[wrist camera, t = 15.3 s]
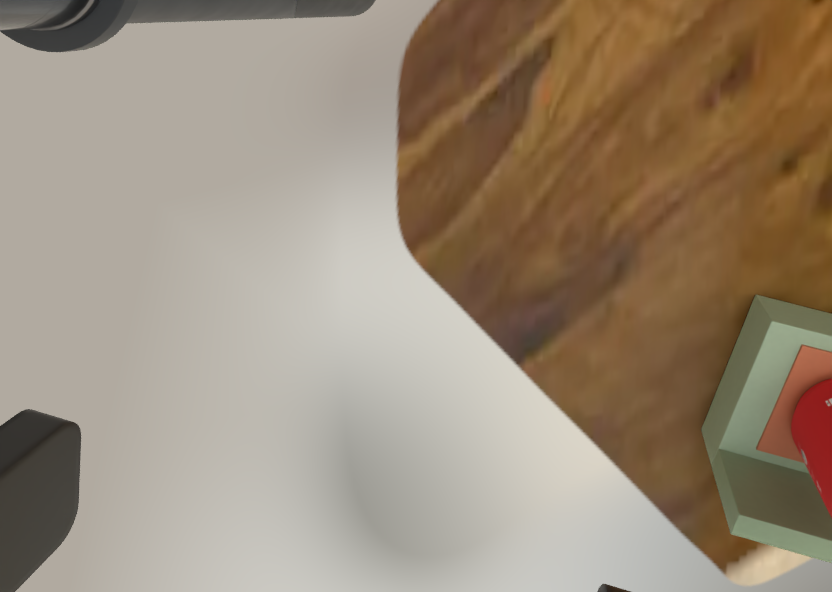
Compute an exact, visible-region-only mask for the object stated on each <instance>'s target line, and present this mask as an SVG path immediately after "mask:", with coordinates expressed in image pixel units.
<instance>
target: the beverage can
mask: <svg viewBox="0 0 832 592" xmlns="http://www.w3.org/2000/svg"><path fill="white" fill-rule="evenodd" d="M791 432H792V437H793V440H794V443H795V445H796V447H797V449H798V451H799V453H800V455H801V457H802V459H803V461H804V463H805V465H806V467H807V469H808V471H809V473H810V475H811V477H812V479H813V482H814V484H815V486H816V488H817V490H818V492H819V494H820V496H821V498H822V500H823V502H824V504H825V506H826V508H827V510H828V512H829V514H830V516H831V518H832V378H829V379H825V380H823V381H820V382H818V383H816V384H814V385H813V386H811V387H810V388H809V389H807V390H806V391H805V392H804V393H803V395H802V396H801V397H800V399H799V400H798V402H797V404H796V407H795V411H794V414H793V418H792V423H791Z"/></svg>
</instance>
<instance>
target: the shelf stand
mask: <svg viewBox="0 0 832 592" xmlns="http://www.w3.org/2000/svg"><path fill="white" fill-rule="evenodd" d="M829 378H832V314H831V313H827V312H823V311H819V310H815V309H811V308H807V307H803V306H799V305H795V304H791V303H787V302H783V301H779V300H775V299H771V298H768V297H764V296H760V295H755V297H754V300H753V302H752V305H751V307H750V309H749V312H748V314H747V317H746V319H745V322H744V324H743V327H742V329H741V332H740V334H739V337H738V339H737V342H736V344H735V347H734V349H733V352H732V354H731V357H730V359H729V362H728V364H727V367H726V369H725V372H724V374H723V376H722V379H721V381H720V384H719V386H718V389H717V391H716V394H715V396H714V399H713V401H712V404H711V406H710V409H709V411H708V414H707V416H706V419H705V421H704V424H703V426H702V429H701V431H702V434H703V438H704V441H705V445H706V449H707V452H708V456H709V459H710V463H711V466H712V470H713V473H714V477H715V480H716V484H717V487H718V491H719V494H720V498H721V501H722V505H723V509H724V512H725V516H726V519H727V523H728V526H729V530H730V533H731V534H733V535H736V536H740V537H743V538H747V539H750V540H753V541H757V542H760V543H764V544H767V545H771V546H774V547H778V548H781V549H785V550H788V551H792V552H795V553H799V554H802V555H805V556H809V557H812V558H816V559H820V560H823V561H826V562H830V563H832V518H831V516H830V514H829V512H828V510H827V508H826V506H825V504H824V502H823V500H822V498H821V496H820V494H819V492H818V490H817V488H816V486H815V484H814V482H813V479H812V477H811V475H810V473H809V471H808V469H807V467H806V465H805V463H804V461H803V459H802V457H801V455H800V453H799V451H798V449H797V447H796V445H795V443H794V440H793V437H792V432H791V423H792V418H793V414H794V411H795V407H796V404H797V402H798V400H799V399H800V397H801V396H802V395H803V393H804V392H805V391H806V390H807V389H809V388H810V387H811V386H813V385H814V384H816V383H818V382H820V381H823V380H825V379H829Z"/></svg>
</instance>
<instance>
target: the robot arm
mask: <svg viewBox="0 0 832 592" xmlns="http://www.w3.org/2000/svg"><path fill="white" fill-rule="evenodd" d="M99 1H100V0H0V30H21V29H31V30H40V31H43V30H59V29H64V28H68V27H71V26H73V25H75V24H77V23H79V22H80V21H82V20H83V19H85V18H86V17H87V16H88V15H89V14H90V13H91V12H92V11H93V10H94V8H95V7H96V6H97V4H98V3H99ZM80 449H81V432H80V428H79V426H78V425H77V424H76V423H74V422H71V421H68V420H64V419H61V418H57V417H54V416H51V415H48V414H44V413H41V412H38V411H35V410H30V409H28V410H24V411H21V412H20V413H18V414H17V415H15V416H14V417H12V418H11V419H10V420H8V421H7V422H5V423H4V424H3V425H1V426H0V592H15V591H16V590H17V589H18V588H19V587H20V586H21V585H22V584H23V583H24V582H25V581H26V580H27V579H28V578H29V577H30V576H31V575H32V574H33V573H34V572H35V570H37V569H38V568H39V566H40V565H41V564H42V563H43V562H44V561H45V560H46V559H47V558H48V557H49V556H50V555H51V554H52V553H53V552H54V551H55V550H56V549H57V548H58V547H59V546H60V545H61V543H62V542H63V541H64V539H65V538H66V536H67V535H68V533H69V531H70V529H71V527H72V525H73V523H74V520H75V517H76V514H77V510H78V503H79V476H80V475H79V474H80ZM598 592H630V591H626V590H623V589H620V588H617V587H613V586H610V585H607V584H602V585H601V587H600V588H599V590H598Z"/></svg>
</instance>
